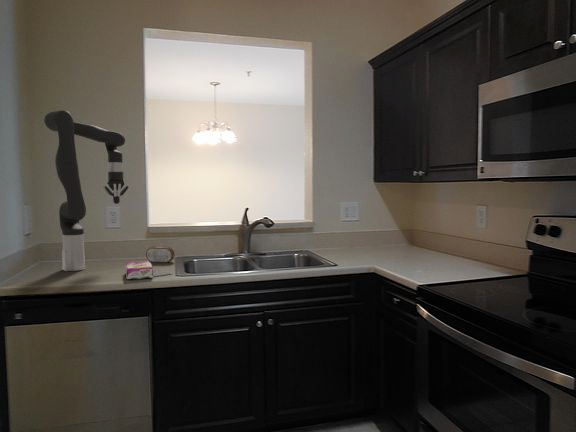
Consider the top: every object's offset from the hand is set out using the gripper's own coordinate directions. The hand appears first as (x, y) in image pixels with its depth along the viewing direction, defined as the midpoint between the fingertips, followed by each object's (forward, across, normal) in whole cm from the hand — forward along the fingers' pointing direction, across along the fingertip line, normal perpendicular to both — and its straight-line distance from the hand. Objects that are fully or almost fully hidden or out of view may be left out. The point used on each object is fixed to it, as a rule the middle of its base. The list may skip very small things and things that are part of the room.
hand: (116, 203), depth 223 cm
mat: (+31, 0, -45) cm, 55 cm away
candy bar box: (+28, -2, -35) cm, 45 cm away
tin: (+31, +16, -18) cm, 39 cm away
